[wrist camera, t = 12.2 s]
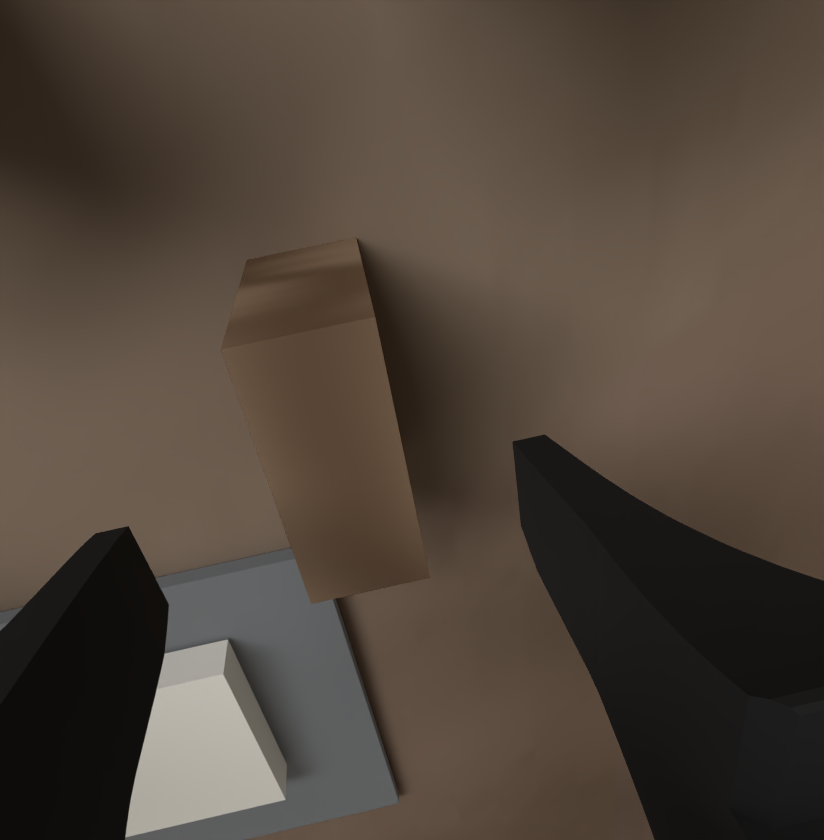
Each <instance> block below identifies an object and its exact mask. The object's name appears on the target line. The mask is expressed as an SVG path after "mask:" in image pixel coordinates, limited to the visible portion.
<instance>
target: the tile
mask: <svg viewBox="0 0 824 840" xmlns="http://www.w3.org/2000/svg"><path fill="white" fill-rule="evenodd" d="M286 773H287V764H286V762H285V759H284V757H283V755H282V753H281V751H280V749H279V747H278V745H277V742H276V740H275V738H274V736H273V734H272V732H271V730H270V728H269V725H268V723H267V721H266V719H265V717H264V715H263V713H262V711H261V708H260V706H259V704H258V702H257V700H256V698H255V696H254V694H253V691H252V689H251V687H250V685H249V683H248V681H247V679H246V676H245V674H244V672H243V670H242V668H241V666H240V664H239V662H238V659H237V657H236V655H235V653H234V651H233V649H232V647H231V645H230V642H229V640H228V639H227V640H223V641H218V642H214V643H209V644H205V645H201V646H196V647H192V648H187V649H183V650H178V651H174V652H169V653H165V654H164V659H163V664H162V669H161V673H160V677H159V681H158V686H157V690H156V694H155V699H154V703H153V707H152V711H151V715H150V719H149V723H148V727H147V731H146V735H145V739H144V743H143V748H142V752H141V756H140V760H139V764H138V768H137V772H136V776H135V781H134V786H133V791H132V796H131V801H130V807H129V814H128V821H127V829H126V836H125V837H129V836H134V835H138V834H142V833H146V832H151V831H155V830H159V829H163V828H168V827H172V826H176V825H180V824H185V823H189V822H193V821H197V820H202V819H206V818H210V817H215V816H219V815H223V814H227V813H232V812H236V811H240V810H244V809H249V808H253V807H257V806H261V805H266V804H270V803H274V802H278V801H283V800H286Z"/></svg>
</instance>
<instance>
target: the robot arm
mask: <svg viewBox="0 0 824 840" xmlns="http://www.w3.org/2000/svg"><path fill="white" fill-rule="evenodd" d="M513 450H514V460H515V470H516V480H517V490H518V500H519V510H520V520H521V527H522V529H523V532H524V535H525V538H526V541H527V543H528V546H529V549H530V552H531V554H532V557H533V560H534V563H535V565H536V568H537V571H538V573H539V575H540V577H541V579H542V581H543V583H544V585H545V587H546V589H547V591H548V593H549V595H550V596H551V598H552V600H553V602H554V604H555V606H556V608H557V610H558V612H559V614H560V616H561V618H562V620H563V622H564V624H565V626H566V628H567V630H568V632H569V634H570V636H571V637H572V639H573V641H574V643H575V645H576V647H577V649H578V651H579V653H580V655H581V657H582V659H583V661H584V663H585V665H586V667H587V669H588V671H589V673H590V675H591V677H592V679H593V681H594V684H595V686H596V688H597V690H598V692H599V695H600V697H601V700H602V702H603V705H604V707H605V710H606V712H607V715H608V717H609V720H610V722H611V725H612V727H613V730H614V732H615V735H616V738H617V740H618V743H619V745H620V748H621V750H622V753H623V756H624V758H625V761H626V764H627V766H628V769H629V771H630V774H631V777H632V779H633V782H634V785H635V787H636V790H637V793H638V795H639V798H640V800H641V803H642V806H643V809H644V811H645V814H646V817H647V820H648V822H649V825H650V828H651V831H652V833H653V836H654V839H655V840H824V581H823V580H819V579H816V578H813V577H810V576H807V575H804V574H801V573H798V572H796V571H793V570H790V569H787V568H784V567H781V566H779V565H776V564H773V563H771V562H768V561H766V560H763V559H761V558H758V557H755V556H753V555H750V554H748V553H745V552H742V551H740V550H738V549H735V548H733V547H731V546H728V545H726V544H724V543H721V542H719V541H717V540H715V539H713V538H711V537H709V536H707V535H704V534H702V533H700V532H698V531H696V530H694V529H692V528H690V527H688V526H686V525H684V524H682V523H680V522H678V521H676V520H674V519H672V518H670V517H668V516H666V515H665V514H663V513H661V512H659V511H658V510H656V509H654V508H652V507H651V506H649V505H647V504H646V503H644V502H642V501H640V500H639V499H637V498H635V497H634V496H632V495H630V494H629V493H627V492H626V491H624V490H623V489H621V488H620V487H618V486H617V485H615V484H614V483H612V482H611V481H609V480H608V479H606V478H605V477H603V476H602V475H600V474H599V473H597V472H596V471H594V470H593V469H591V468H590V467H589V466H587V465H586V464H584V463H583V462H582V461H580V460H579V459H578V458H576V457H575V456H573V455H572V454H571V453H569V452H568V451H567V450H565V449H564V448H562V447H561V446H560V445H558V444H557V443H556V442H554V441H553V440H551V439H550V438H549V437H547V436H546V435H541V436H536V437H532V438H527V439H523V440H518V441H514V442H513ZM168 612H169V603H168V602H167V600H166V598H165V596H164V594H163V592H162V590H161V588H160V586H159V584H158V582H157V580H156V578H155V577H154V575H153V573H152V571H151V569H150V567H149V565H148V563H147V561H146V559H145V557H144V555H143V553H142V552H141V550H140V548H139V546H138V544H137V542H136V540H135V538H134V536H133V534H132V532H131V530H130V528H129V526H128V527H123V528H118V529H114V530H109V531H105V532H100V533H96V534H94V535H93V536H92V537H91V538H90V539H89V540H88V541H87V542H86V543H85V544H84V545H83V546H82V547H81V548H80V549H79V550H78V551H77V552H76V553H75V554H74V555H73V556H72V557H71V558H70V559H69V560H68V561H67V562H66V563H65V564H64V565H63V566H62V567H61V568H60V569H59V570H58V571H57V572H56V574H55V575H54V576H53V577H52V578H51V579H50V580H49V581H48V582H47V583H46V584H45V585H44V586H43V587H42V588H41V589H40V590H39V591H38V593H37V594H36V595H35V596H34V597H33V598H32V599H31V600H30V601H29V602H28V603H27V604H26V605H25V606H24V607H23V608H22V609H21V610H20V611H19V612H18V613H17V614H16V616H15V617H14V618H13V619H12V620H11V621H10V622H9V623H8V624H7V625H6V626H5V627H4V628H3V629H2V630H1V631H0V840H125V836H126V829H127V821H128V814H129V807H130V801H131V796H132V791H133V786H134V781H135V776H136V772H137V768H138V764H139V760H140V756H141V752H142V748H143V743H144V739H145V735H146V731H147V727H148V723H149V719H150V715H151V711H152V707H153V703H154V699H155V694H156V690H157V686H158V681H159V677H160V673H161V669H162V664H163V659H164V654H165V645H166V636H167V625H168Z"/></svg>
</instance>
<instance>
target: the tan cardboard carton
mask: <svg viewBox="0 0 824 840" xmlns="http://www.w3.org/2000/svg"><path fill="white" fill-rule="evenodd" d="M221 351H222V354H223V357H224V360H225V363H226V366H227V368H228V371H229V374H230V377H231V380H232V382H233V385H234V388H235V391H236V394H237V397H238V399H239V402H240V405H241V408H242V411H243V413H244V416H245V419H246V422H247V425H248V428H249V430H250V433H251V436H252V439H253V442H254V444H255V447H256V450H257V453H258V456H259V459H260V461H261V464H262V467H263V470H264V473H265V475H266V478H267V481H268V484H269V487H270V490H271V492H272V495H273V498H274V501H275V504H276V506H277V509H278V512H279V515H280V518H281V521H282V523H283V526H284V529H285V532H286V535H287V537H288V540H289V543H290V546H291V549H292V552H293V554H294V557H295V560H296V563H297V566H298V568H299V571H300V574H301V577H302V580H303V583H304V585H305V588H306V591H307V594H308V597H309V599H310V602H311V604H314V603H319V602H323V601H328V600H332V599H337V598H341V597H346V596H350V595H354V594H359V593H363V592H368V591H372V590H377V589H381V588H386V587H390V586H395V585H399V584H403V583H408V582H412V581H417V580H421V579H426V578H430V575H429V571H428V566H427V561H426V556H425V552H424V547H423V542H422V537H421V533H420V528H419V523H418V518H417V513H416V509H415V504H414V499H413V494H412V490H411V485H410V480H409V475H408V471H407V466H406V461H405V456H404V452H403V447H402V442H401V437H400V433H399V428H398V423H397V418H396V413H395V409H394V404H393V399H392V394H391V390H390V385H389V380H388V375H387V371H386V366H385V361H384V356H383V352H382V347H381V342H380V337H379V332H378V328H377V323H376V318H375V314H374V310H373V306H372V301H371V297H370V293H369V289H368V285H367V281H366V277H365V272H364V268H363V264H362V260H361V256H360V252H359V248H358V243H357V239H356V238H352V239H347V240H342V241H337V242H332V243H327V244H322V245H318V246H313V247H308V248H303V249H298V250H293V251H289V252H284V253H279V254H274V255H269V256H264V257H259V258H255V259H250V260H247V262H246V265H245V269H244V272H243V275H242V279H241V282H240V286H239V289H238V292H237V296H236V299H235V303H234V306H233V310H232V313H231V316H230V320H229V323H228V327H227V330H226V333H225V337H224V340H223V344H222V347H221Z"/></svg>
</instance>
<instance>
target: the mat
mask: <svg viewBox="0 0 824 840" xmlns="http://www.w3.org/2000/svg"><path fill="white" fill-rule="evenodd" d="M156 580H157V582H158V584H159V586H160V588H161V590H162V592H163V594H164V596H165V598H166V600H167V602H168V603H169V612H168V625H167V636H166V645H165V653H169V652H174V651H178V650H183V649H187V648H192V647H196V646H201V645H205V644H209V643H214V642H218V641H223V640H227V639H228V640H229V642H230V645H231V647H232V649H233V651H234V653H235V655H236V657H237V659H238V662H239V664H240V666H241V668H242V670H243V672H244V674H245V676H246V679H247V681H248V683H249V685H250V687H251V689H252V691H253V694H254V696H255V698H256V700H257V702H258V704H259V706H260V708H261V711H262V713H263V715H264V717H265V719H266V721H267V723H268V725H269V728H270V730H271V732H272V734H273V736H274V738H275V740H276V742H277V745H278V747H279V749H280V751H281V753H282V755H283V757H284V759H285V762H286V764H287V773H286V800H283V801H278V802H274V803H270V804H266V805H261V806H257V807H253V808H249V809H244V810H240V811H236V812H232V813H227V814H223V815H219V816H215V817H210V818H206V819H202V820H197V821H193V822H189V823H185V824H180V825H176V826H172V827H168V828H163V829H159V830H155V831H151V832H146V833H142V834H138V835H134V836H129V837H125V840H245V839H249V838H254V837H258V836H262V835H266V834H271V833H275V832H279V831H283V830H288V829H292V828H296V827H300V826H304V825H309V824H313V823H317V822H321V821H326V820H330V819H334V818H338V817H343V816H347V815H351V814H355V813H360V812H364V811H368V810H372V809H376V808H381V807H385V806H389V805H393V804H398V803H399V796H398V789H397V786H396V783H395V780H394V777H393V774H392V771H391V768H390V765H389V762H388V758H387V755H386V752H385V749H384V746H383V743H382V740H381V737H380V734H379V731H378V727H377V724H376V721H375V718H374V715H373V712H372V709H371V706H370V703H369V700H368V697H367V693H366V690H365V687H364V684H363V681H362V678H361V675H360V672H359V669H358V666H357V663H356V659H355V656H354V653H353V650H352V647H351V644H350V641H349V638H348V635H347V632H346V629H345V625H344V622H343V619H342V616H341V613H340V610H339V607H338V604H337V601H336V599H332V600H328V601H323V602H319V603H314V604H311V602H310V599H309V597H308V594H307V591H306V588H305V585H304V583H303V580H302V577H301V574H300V571H299V568H298V566H297V563H296V560H295V557H294V554H293V552H292V549H291V548H289V549H284V550H279V551H275V552H270V553H266V554H261V555H257V556H252V557H248V558H243V559H239V560H234V561H230V562H225V563H221V564H216V565H212V566H207V567H203V568H198V569H194V570H189V571H185V572H180V573H176V574H171V575H167V576H162V577H158V578H156ZM22 608H23V607H22ZM22 608H18V609H13V610H8V611H4V612H0V631H1V630H2V629H3V628H4V627H5V626H6V625H7V624H8V623H9V622H10V621H11V620H12V619H13V618H14V617H15V616H16V614H17V613H18V612H19V611H20V610H21V609H22Z"/></svg>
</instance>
